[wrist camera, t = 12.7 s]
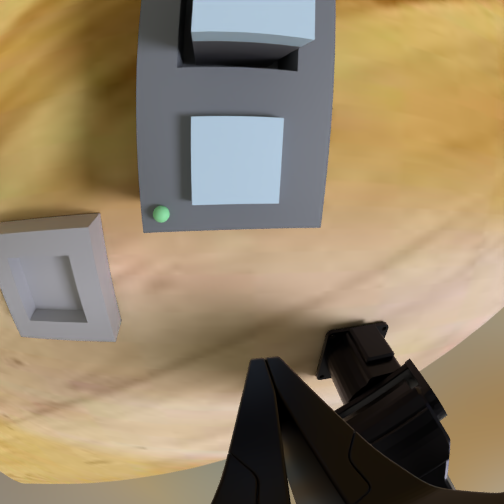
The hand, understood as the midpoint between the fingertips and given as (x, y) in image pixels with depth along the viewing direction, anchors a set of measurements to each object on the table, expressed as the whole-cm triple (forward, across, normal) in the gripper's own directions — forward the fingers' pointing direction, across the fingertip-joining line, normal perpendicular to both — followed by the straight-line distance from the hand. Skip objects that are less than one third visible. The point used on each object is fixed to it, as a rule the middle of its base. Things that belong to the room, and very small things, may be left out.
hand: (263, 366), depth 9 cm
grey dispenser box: (+13, 0, -8) cm, 15 cm away
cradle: (+13, +13, +4) cm, 19 cm away
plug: (+12, 0, -12) cm, 17 cm away
